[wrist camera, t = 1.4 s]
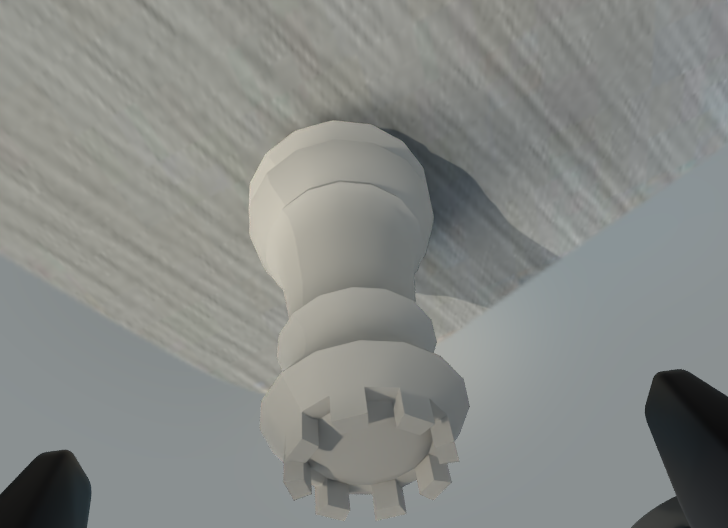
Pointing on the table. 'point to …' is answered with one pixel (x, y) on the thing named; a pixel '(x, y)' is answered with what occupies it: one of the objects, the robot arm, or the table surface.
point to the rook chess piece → (353, 321)
